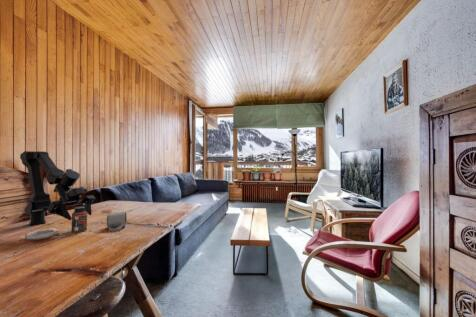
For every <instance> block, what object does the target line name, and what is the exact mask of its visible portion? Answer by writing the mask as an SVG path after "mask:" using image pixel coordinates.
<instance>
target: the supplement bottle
mask: <svg viewBox="0 0 476 317" xmlns="http://www.w3.org/2000/svg"><path fill="white" fill-rule="evenodd" d="M71 218H72V219H71V232H72V233H77V234H78V233H83V232H85V231H86V230H87V229H88V213H87V212H86V211H85V207H83V206H76V207H74V211H73V212H72V213H71Z"/></svg>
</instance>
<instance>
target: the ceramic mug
mask: <svg viewBox="0 0 476 317" xmlns="http://www.w3.org/2000/svg"><path fill="white" fill-rule="evenodd" d="M127 222H128V221H127V212H126V211H119V212H111V213H109V214H107V217H106V227H107V228H108V230H109V231H111V232H116V231H120V230H121V229H123V228H125V227H127Z"/></svg>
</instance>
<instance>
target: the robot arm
mask: <svg viewBox="0 0 476 317" xmlns="http://www.w3.org/2000/svg"><path fill="white" fill-rule="evenodd" d="M19 158H20V161H21V163H22V165H23V166H24V167H25V168H26V169H27V174H28V179H29V185H30V191H31V195H30V197H29V199H28V200H27V201H28V203H27V205H26V206H25V207H24V213H25V214H29V222H28V226H35V225H41V224H46V222H47V220H46V217H45V216H46V214H45V213H46V211H47V212H48V214H53V215H58V216H60V217H62V218H64V219H66V220H69V221H72V215H71V214H70V212H69V211H68V209H67V207H73V206H78V205H81V207H85V211H86V212H87V215H89V216H92V213H93V212H92V204H93V203H94V201H95V200H96V197H95V195H92V194H91V195H86V196H84V197H83V199H81V198H82V195H85V194H86V193H87V192H88V188H87V187H86V186H85V185H84V186H81V187H80V186H79V187H74V188H72V187H73V186H74V185H75V184H76V183H77V182H78V180H79V179H80V177H81V175H80V173H79V172H77V171H75V170H73V169H72V168H68V169H66V170H65V171H64V170H63V169H60V168H58V167H57V165H56V164H55V163H54V161H53V160H52V158H51V157H50V156H49V152H48V151H41V150H40V151H37V150H36V151H35V150H34V151H31V150H30V151H27V150H24V151H23V152H21V153H20V155H19ZM41 168H42V169H43V170H44V172H45V173H46V176H45V179H46V182H47V183H48V184H49V185H51V186H53V185H55V186H54V189H53V193H58V196H59V198H58V200H54V201H52V200H51V197H50V196H51V195H50V194H49V193H46V192H45V188H44V182H43V177H42V172H41Z"/></svg>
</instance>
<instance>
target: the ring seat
mask: <svg viewBox="0 0 476 317" xmlns="http://www.w3.org/2000/svg"><path fill="white" fill-rule="evenodd" d="M59 234H60V233H59V230H58V229H57V228H43V229H38V230H34V231H31V232H28V233H26V236H25V237H24V239H25V240H26V241H40V240H46V239H49V238H53V237H56V236H58V235H59Z"/></svg>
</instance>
